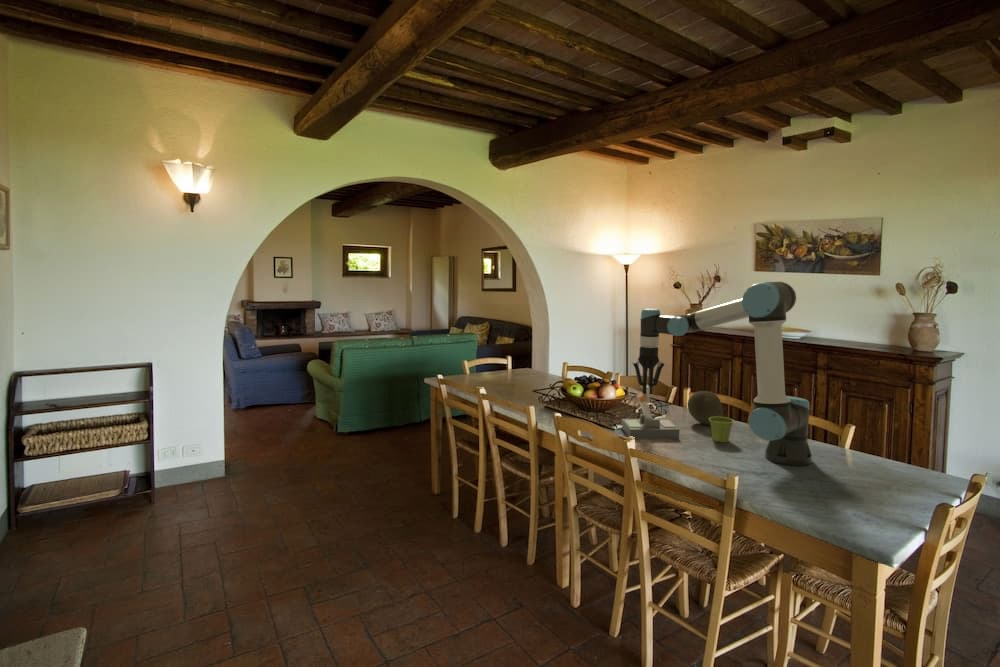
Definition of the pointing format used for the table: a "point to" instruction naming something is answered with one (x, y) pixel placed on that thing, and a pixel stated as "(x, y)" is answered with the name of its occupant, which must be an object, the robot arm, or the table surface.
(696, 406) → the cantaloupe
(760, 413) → the robot arm
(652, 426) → the switch box
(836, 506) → the table surface
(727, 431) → the plant pot
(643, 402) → the toggle lever
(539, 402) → the table surface
